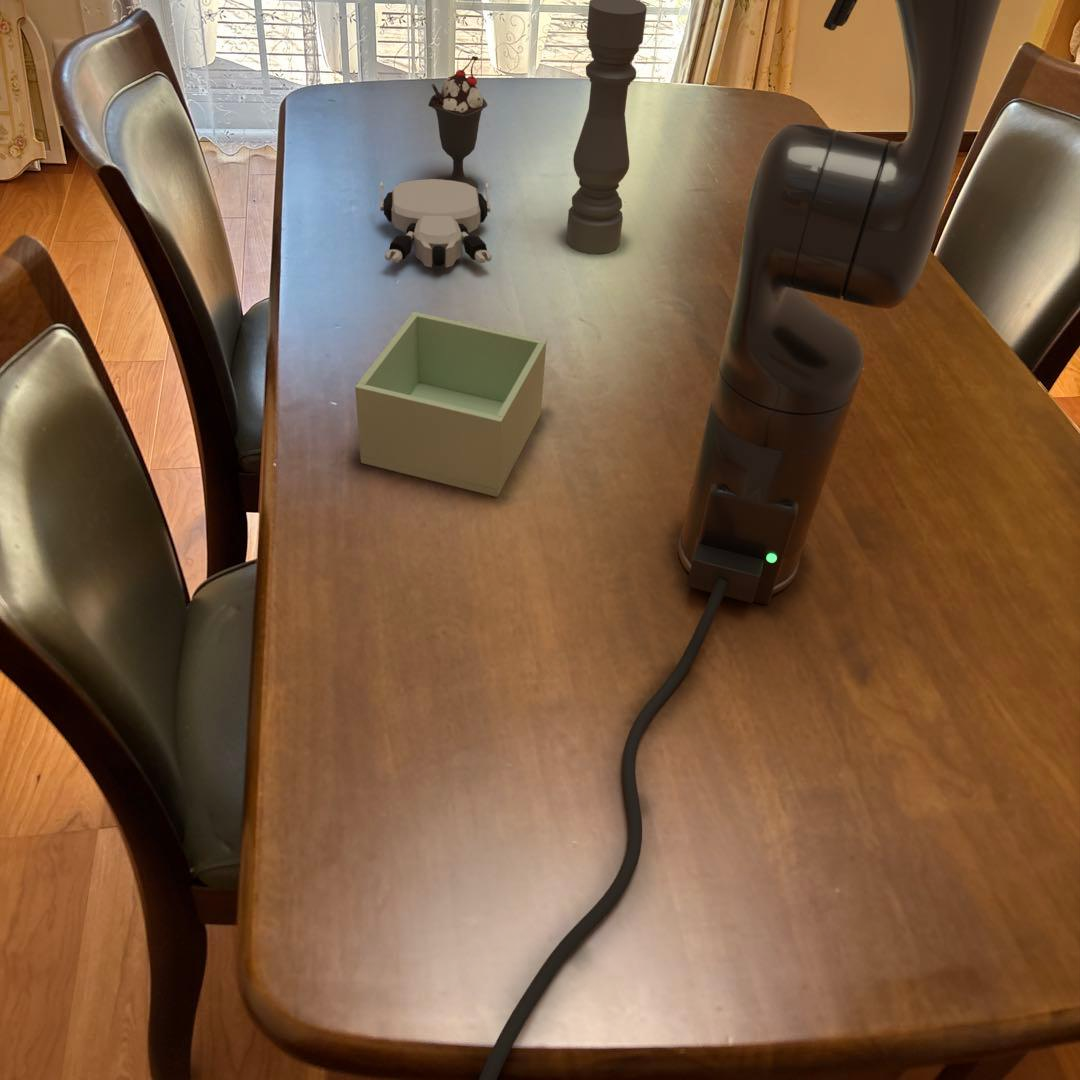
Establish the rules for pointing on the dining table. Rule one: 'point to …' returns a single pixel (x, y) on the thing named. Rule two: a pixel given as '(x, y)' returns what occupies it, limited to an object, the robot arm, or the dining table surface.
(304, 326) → the dining table surface
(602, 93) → the candle holder
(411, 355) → the bin
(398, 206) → the robot toy
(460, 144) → the sundae
